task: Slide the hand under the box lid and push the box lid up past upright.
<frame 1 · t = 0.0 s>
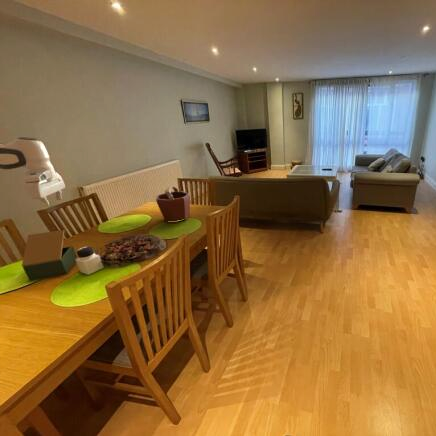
hand: (53, 202, 116), 32 cm above the table, tool pointing down, fingers open, 8 cm apart
medicine bottle: (92, 270, 120), on the table
box lid: (44, 247, 114), point 13 cm above the table, hinge at 35.0°
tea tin: (55, 269, 120), on the table
food dish: (132, 252, 136), on the table
bucket: (176, 219, 182), on the table
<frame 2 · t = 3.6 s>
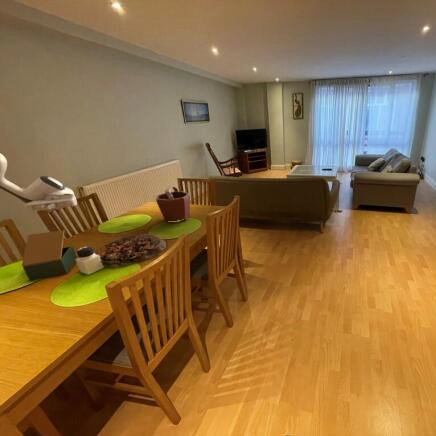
hand: (45, 208, 121), 28 cm above the table, tool horizontal, fingers closed
medicine bottle: (92, 270, 120), on the table, touching food dish
food dish: (132, 252, 136), on the table, touching medicine bottle
everything else where it was.
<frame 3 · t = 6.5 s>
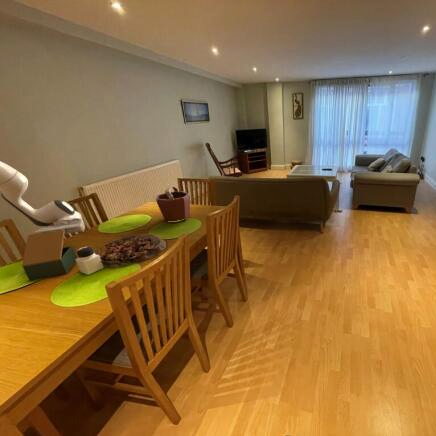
hand: (55, 235, 125), 13 cm above the table, tool horizontal, fingers closed
medicine bottle: (92, 270, 120), on the table
food dish: (132, 252, 136), on the table
everything else where it was.
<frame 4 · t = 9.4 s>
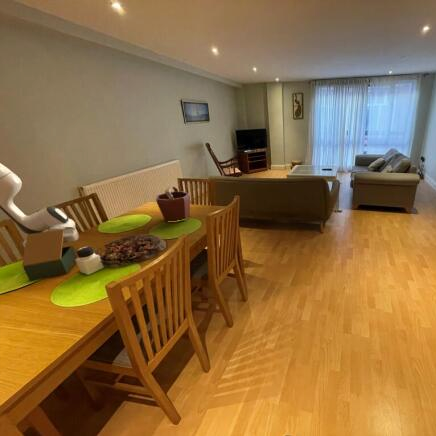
hand: (45, 246, 116), 13 cm above the table, tool horizontal, fingers closed
box lid: (44, 246, 114), point 13 cm above the table, hinge at 36.9°
everything else where it was.
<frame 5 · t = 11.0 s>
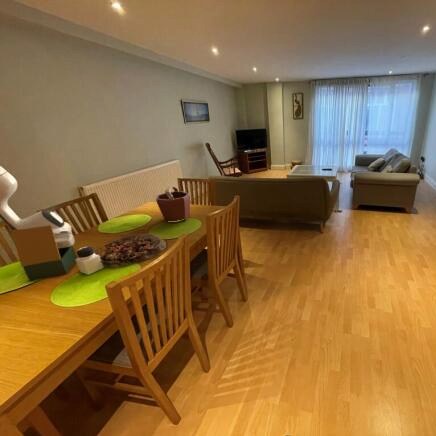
hand: (39, 251, 110), 13 cm above the table, tool horizontal, fingers closed, pressing on box lid
box lid: (36, 245, 109), point 16 cm above the table, hinge at 76.8°, touching gripper
everything else where it was.
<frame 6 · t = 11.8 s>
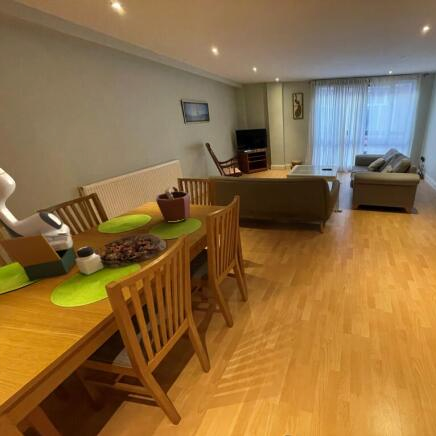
hand: (36, 254, 108), 13 cm above the table, tool horizontal, fingers closed, pressing on box lid
box lid: (31, 250, 105), point 16 cm above the table, hinge at 110.5°, touching gripper
everything else where it was.
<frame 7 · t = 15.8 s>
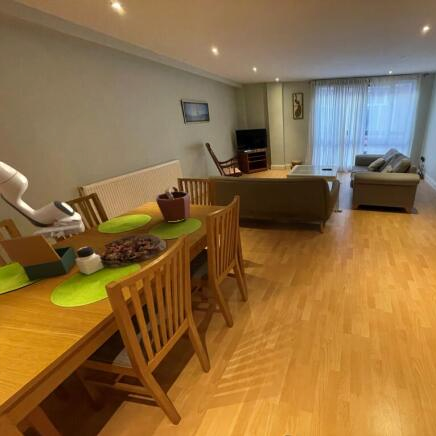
hand: (54, 236, 124), 13 cm above the table, tool horizontal, fingers closed
box lid: (31, 250, 105), point 16 cm above the table, hinge at 110.4°
everything else where it was.
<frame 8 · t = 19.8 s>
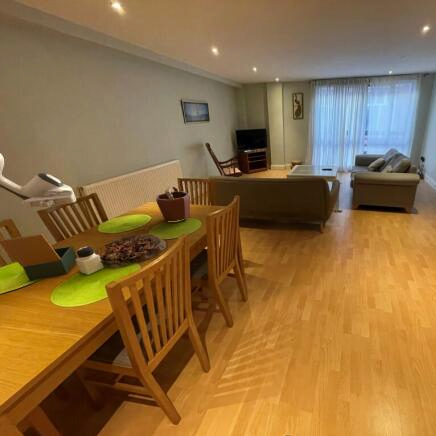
hand: (43, 205, 120), 30 cm above the table, tool horizontal, fingers closed
nothing on the table moved.
at the end: box lid at +110° (first picture: +35°); medicine bottle moved 0.2 cm from its start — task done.
